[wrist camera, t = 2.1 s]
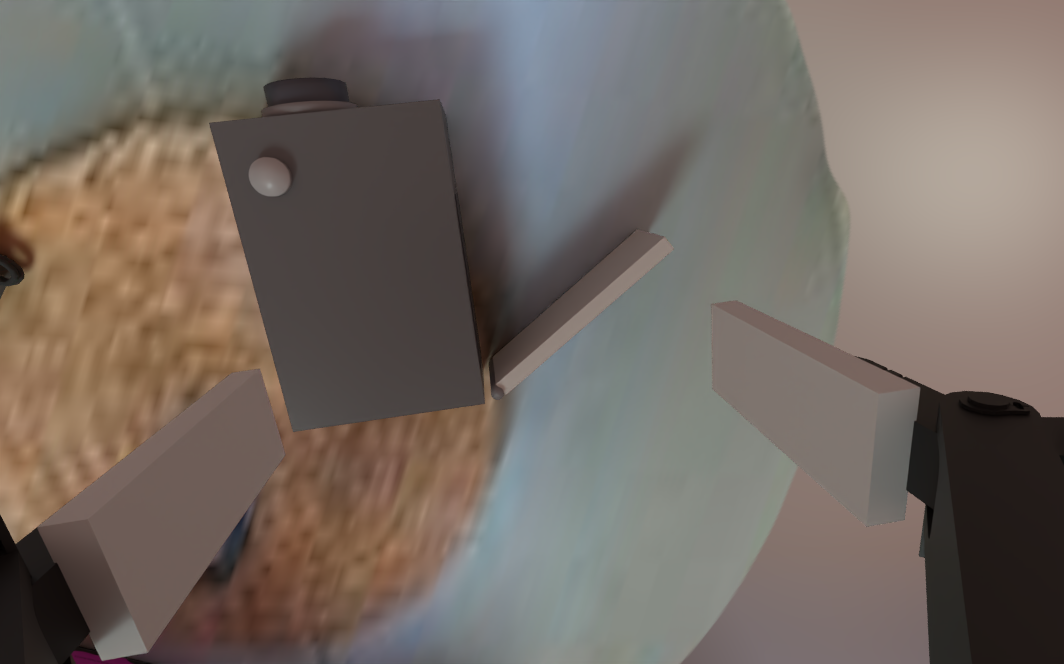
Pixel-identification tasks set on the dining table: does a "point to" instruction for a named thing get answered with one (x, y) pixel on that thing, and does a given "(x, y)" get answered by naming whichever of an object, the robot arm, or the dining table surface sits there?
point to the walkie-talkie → (9, 273)
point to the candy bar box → (98, 658)
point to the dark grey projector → (354, 253)
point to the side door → (575, 309)
